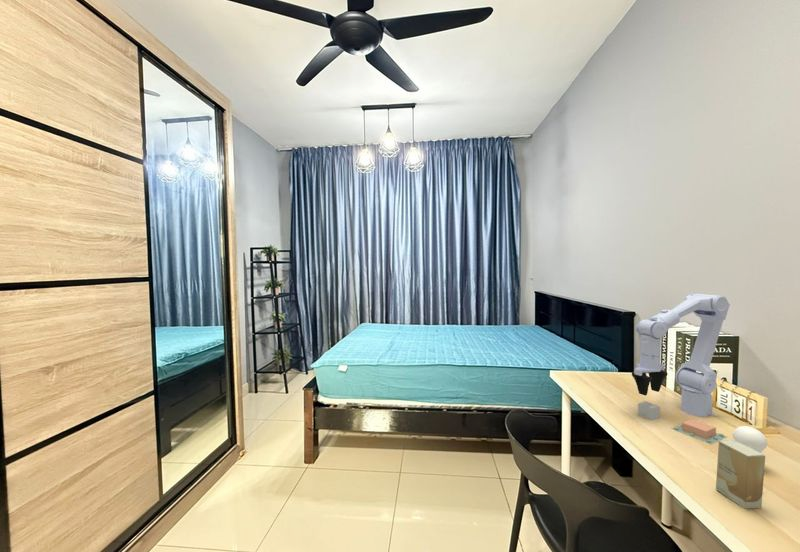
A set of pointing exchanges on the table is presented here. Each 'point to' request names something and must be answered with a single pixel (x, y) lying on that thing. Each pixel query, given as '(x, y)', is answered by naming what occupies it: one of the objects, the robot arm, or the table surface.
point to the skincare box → (740, 473)
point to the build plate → (709, 440)
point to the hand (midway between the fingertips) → (649, 392)
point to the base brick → (699, 429)
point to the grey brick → (648, 410)
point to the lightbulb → (750, 438)
